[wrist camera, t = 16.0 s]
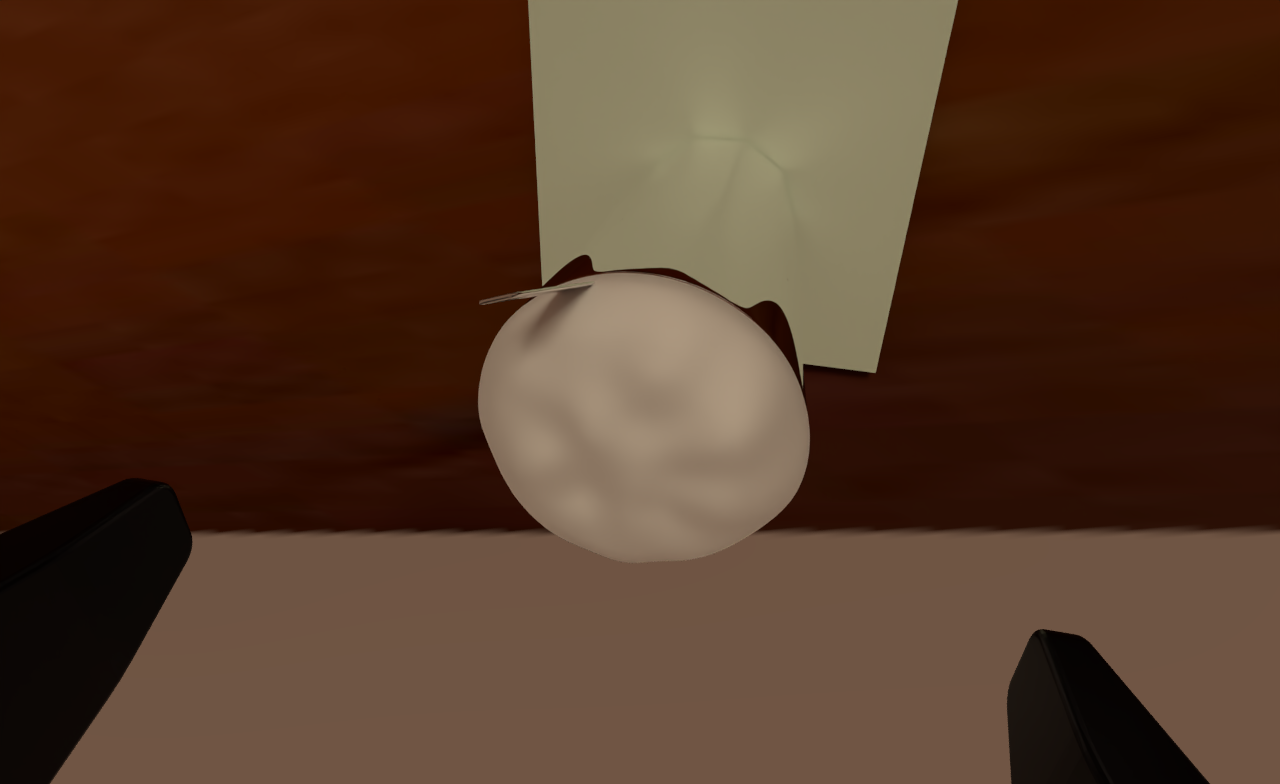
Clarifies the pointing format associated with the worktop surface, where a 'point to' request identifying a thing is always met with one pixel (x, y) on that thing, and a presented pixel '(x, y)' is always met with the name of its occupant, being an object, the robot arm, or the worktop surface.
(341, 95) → the worktop surface
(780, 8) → the mat
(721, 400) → the milkshake
